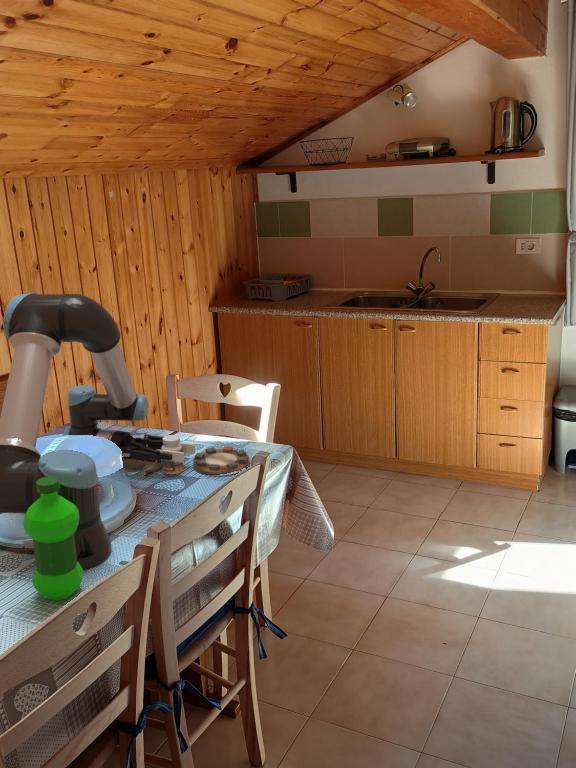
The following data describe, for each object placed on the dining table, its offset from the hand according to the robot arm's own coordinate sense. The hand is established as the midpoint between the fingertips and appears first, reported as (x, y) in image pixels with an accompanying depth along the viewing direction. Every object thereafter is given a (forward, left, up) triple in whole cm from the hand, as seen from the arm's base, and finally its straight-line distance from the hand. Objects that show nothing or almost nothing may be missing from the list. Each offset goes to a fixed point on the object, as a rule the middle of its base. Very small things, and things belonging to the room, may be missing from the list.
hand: (188, 453), depth 208 cm
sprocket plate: (+8, -7, -6) cm, 12 cm away
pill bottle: (+1, +5, -6) cm, 8 cm away
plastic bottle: (-61, +6, -6) cm, 62 cm away
